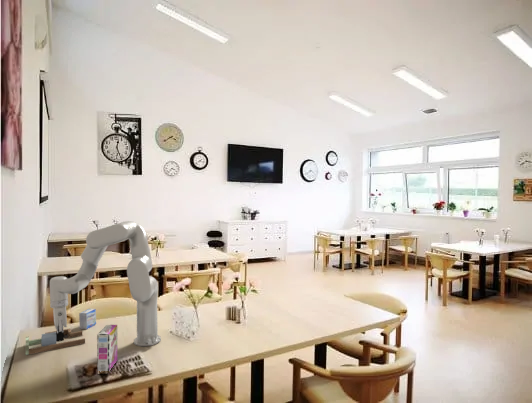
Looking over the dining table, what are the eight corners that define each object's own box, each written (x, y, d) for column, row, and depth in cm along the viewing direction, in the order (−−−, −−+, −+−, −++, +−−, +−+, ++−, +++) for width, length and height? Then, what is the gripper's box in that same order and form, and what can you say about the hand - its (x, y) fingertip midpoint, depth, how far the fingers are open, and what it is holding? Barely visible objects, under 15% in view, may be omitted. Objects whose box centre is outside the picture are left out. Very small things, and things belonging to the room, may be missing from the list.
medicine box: (86, 329, 199) (86, 313, 199) (79, 329, 200) (78, 312, 200) (96, 324, 207) (96, 308, 207) (89, 323, 208) (88, 308, 208)
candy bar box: (109, 374, 151) (109, 334, 151) (97, 375, 151) (96, 334, 150) (118, 361, 162) (117, 324, 162) (106, 362, 162) (105, 324, 161)
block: (56, 346, 178) (56, 336, 178) (41, 349, 175) (41, 338, 175) (56, 342, 183) (56, 331, 183) (42, 344, 180) (41, 334, 180)
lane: (85, 343, 182) (84, 335, 182) (25, 355, 169) (25, 346, 169) (80, 331, 197) (80, 323, 197) (26, 341, 184) (25, 333, 184)
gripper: (69, 305, 177) (70, 344, 177) (66, 297, 189) (67, 333, 190) (50, 308, 173) (51, 348, 173) (49, 300, 185) (50, 337, 186)
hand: (60, 340), depth 182 cm, fingers closed
